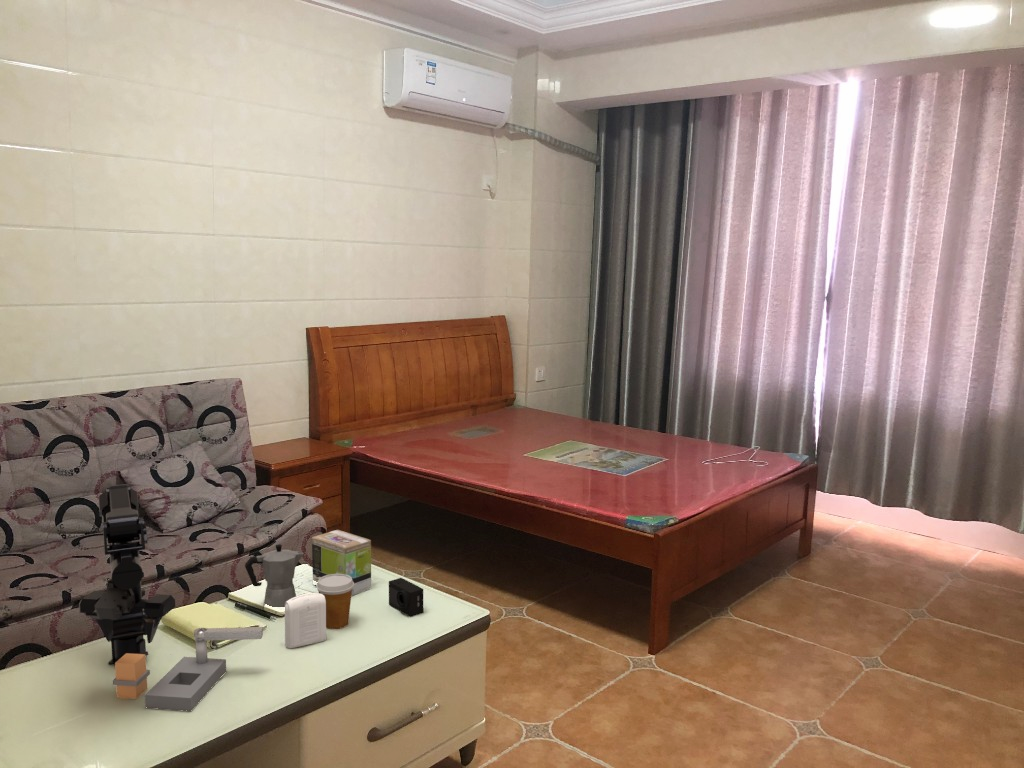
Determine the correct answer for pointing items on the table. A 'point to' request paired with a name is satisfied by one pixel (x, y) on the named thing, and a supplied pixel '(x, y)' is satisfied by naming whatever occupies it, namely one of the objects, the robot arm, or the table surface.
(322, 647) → the table surface
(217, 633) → the retention bar
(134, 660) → the plug
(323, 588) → the disposable coffee cup
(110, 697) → the table surface
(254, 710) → the table surface
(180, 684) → the socket block
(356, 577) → the tea box
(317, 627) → the white rounded block
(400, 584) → the digital camera
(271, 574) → the coffeepot
